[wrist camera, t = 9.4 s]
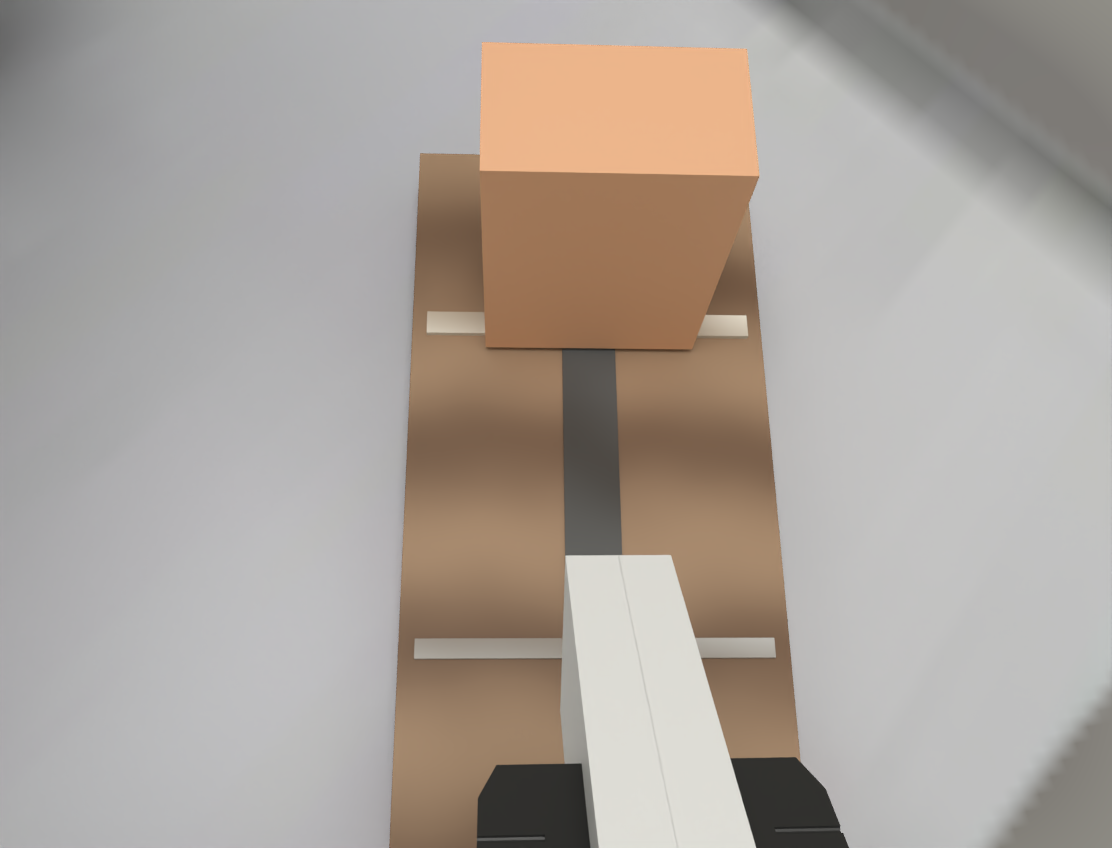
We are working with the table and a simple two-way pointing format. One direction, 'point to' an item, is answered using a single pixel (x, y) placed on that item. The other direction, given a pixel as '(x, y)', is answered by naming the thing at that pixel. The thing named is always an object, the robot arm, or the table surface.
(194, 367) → the table surface
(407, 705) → the fader board
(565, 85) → the fader knob
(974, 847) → the table surface
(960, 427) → the table surface
